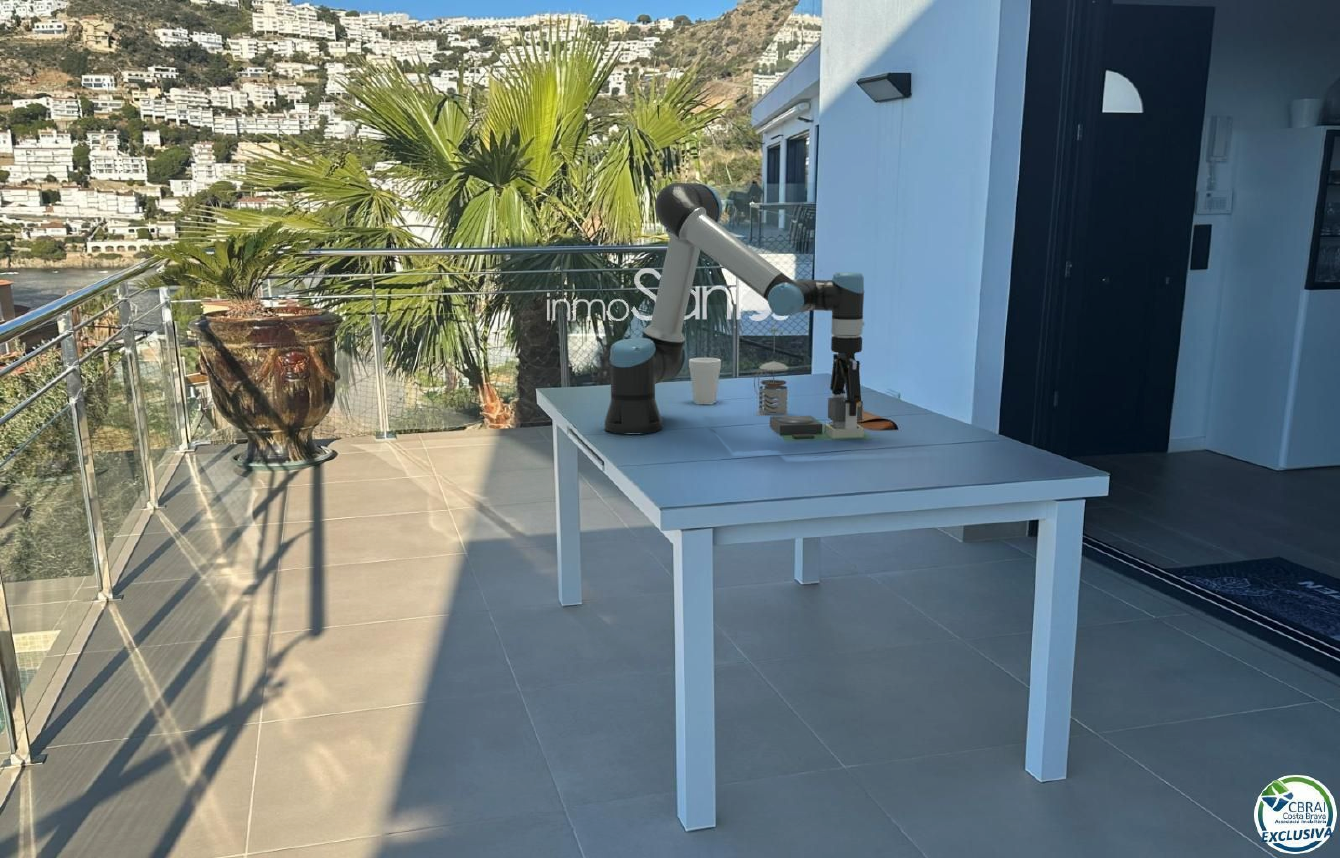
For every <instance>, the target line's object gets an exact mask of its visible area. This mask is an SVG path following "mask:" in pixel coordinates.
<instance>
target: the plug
mask: <svg viewBox="0 0 1340 858" xmlns="http://www.w3.org/2000/svg"><path fill="white" fill-rule="evenodd" d="M827 399H828V400H827V401H828V402H827V418H828V419H830V420H831V422H833V428H834V429H845V416H846V403H845V400H847V396H844V397H840V398H833V397H828V398H827ZM863 402H864V401H863V400H861V401H858V404H857V421H862V410H864V406H863V405H864V403H863Z"/></svg>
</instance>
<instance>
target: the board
mask: <svg viewBox="0 0 1340 858" xmlns="http://www.w3.org/2000/svg"><path fill="white" fill-rule="evenodd" d="M825 424H826V423H824V424H823V426H822V434H794V435H779V437H781V438H782V439H783V440H784V441H785V442H807V441H809V442H811V441H812V442H813V441H815V442H816V441H834V440H835V441H838V440H865V439H866V440H867V439H868V440H871V439H873V436H871V435H869V434H868V433H866V432H865V431H864V437H855V438H831V437H830V436H829V435H827V434H826V433H825V432H824V431H825ZM828 424H833V421H830V422H828ZM774 432H775V433H777V432H776V431H774ZM777 434H778V433H777Z"/></svg>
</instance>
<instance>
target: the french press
mask: <svg viewBox="0 0 1340 858" xmlns="http://www.w3.org/2000/svg"><path fill="white" fill-rule="evenodd" d="M770 331H771V332H773V352H775V351H776V350H775V344H776V343H775V341H776V339H775V337H776V336H775V335H776V332H779V331H778V328H777V327H776V326H773V327H771V329H770ZM759 370H760V371H758V372H757V373H756V374H755V376H754V380H753V386H754V391H755V393H756V395H757V396H758V397H759V398H758V399H759V401H758V403H759V405H758V407H759V408H758V412H757V414H756V416H779V415H780V416H781V415H783V416H785V415H786V416H787V415H789V413H788V410H787V409H788V406H787V405H788V387H787V386H785V385H786V384H787V381H786V380H783V379H780V380H779V379H775V372H784V371H785V372H786V371H788V370H789V367H788V366H787V365H786V364H784V363H781V362H778V361H776V360H773V361H770V362H766V363H764V364H762V365H760V366H759ZM767 372H772V373H773V374H772V379H763V380H761V381H760V378H761V377H765V376H766V375H767ZM763 373H765V374H763ZM758 374H759V376H758ZM757 376H758V378H757ZM756 378H757V379H758V381H757V386H758V390H759V393H758V392H757V389H756ZM760 384H762V385H761V386H760ZM763 385H764V388H763ZM763 403H764V404H763Z"/></svg>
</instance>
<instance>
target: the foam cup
mask: <svg viewBox="0 0 1340 858" xmlns="http://www.w3.org/2000/svg"><path fill="white" fill-rule="evenodd" d="M688 368H689V373H690V380H691V388H692V395H693V401H694V402H695V403H697V404H696V405H699V404H710V403H714V402H715V403H716V401H717V395H718V386H719V379H720V371H721V369H722V360H721V359H720V358H716V357H695V358H690V359H688ZM695 403H694V404H695Z"/></svg>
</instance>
